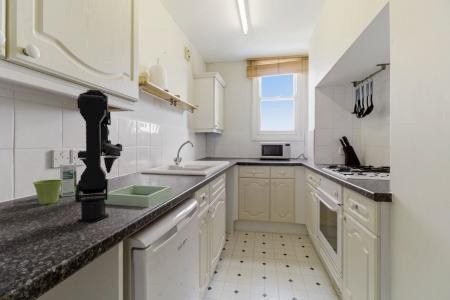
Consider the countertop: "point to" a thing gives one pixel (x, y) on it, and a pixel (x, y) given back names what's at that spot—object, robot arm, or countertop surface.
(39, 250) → the countertop surface
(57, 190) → the plant pot
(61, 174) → the syrup box
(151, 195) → the green square tray
